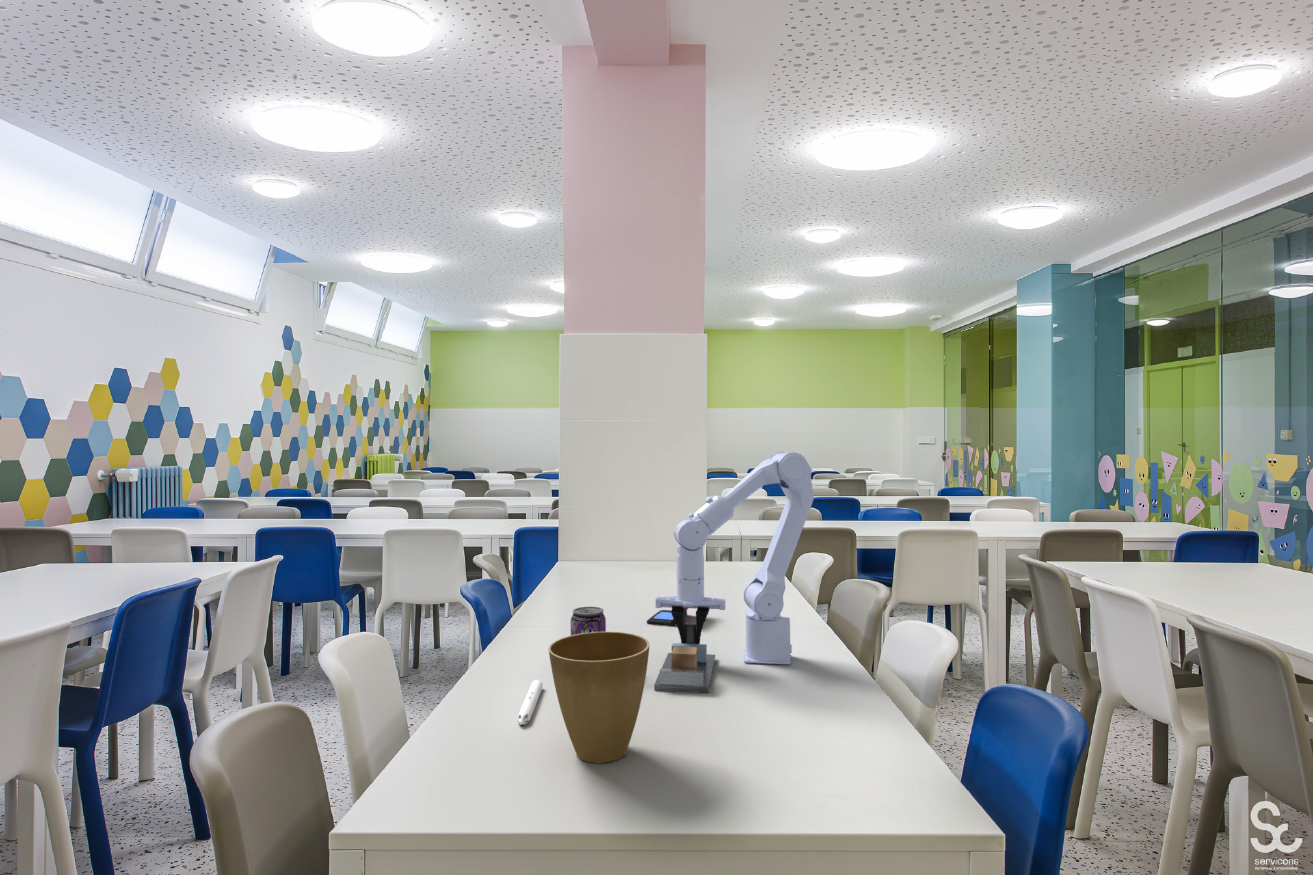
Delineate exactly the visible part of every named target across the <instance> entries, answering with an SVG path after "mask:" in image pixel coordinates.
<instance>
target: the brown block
mask: <svg viewBox="0 0 1313 875" xmlns="http://www.w3.org/2000/svg"><path fill="white" fill-rule="evenodd" d="M670 653H671V655H672V669H684V670H697V647H674V648H673V651H672V650H671V652H670Z"/></svg>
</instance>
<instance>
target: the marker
mask: <svg viewBox="0 0 1313 875" xmlns="http://www.w3.org/2000/svg"><path fill="white" fill-rule="evenodd" d="M543 687H544V685H543V681H542V680H541V679H535V680H533V681H532V683H531V685H530V687H529V689H528V691H527V694H526V696H525V698H524V701H523V703H522V705H521V708H520V710H519V712H518V715H517V722H518V724H519V725H520V726H522V725H527V724H528V723H529V722H530V720H531V718H532V715H533V712H534V711H535V707H536V704H537V702H538V700H539V697H540V694H541V692H542V690H543Z"/></svg>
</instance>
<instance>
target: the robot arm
mask: <svg viewBox="0 0 1313 875" xmlns="http://www.w3.org/2000/svg"><path fill="white" fill-rule="evenodd" d="M812 471H813V469H812V468H811V465H810V464H809V462H808V461H807V459H806V457H804V456H803V455H802V454H801V453H799V452H795V451H794V452H793V451H792V452H784V451H777V452H774V453H773V454H772V455H771V456H769V458H766V459H765V460H763V461H761V462H760V463H759V464H758V465H757V466H756V467H754V469H752V470H751V471H750V472H749V473H748V474H746V476H745V477H744V478H742V479H741V480H740V481H739V482H738V483H737V484H736V485H735V486H734V487H733V488H732V489H730V490H729V491H728V492H727V493H726V494H724V495H714V496H713V497H710V496H709V497H707V498H706V499H705V500H704V501H705V504H703V505H702V506H701V507H700V508H699V509H698V510H696V511H695V512H690V513H689V514H688V515H687V516H688V517H689V519H683V520H682V521H680V522H679V523H677V525H676V528H675V531H673V537H674V539H675V541H676V543H677V544H676V545H677V547H676V552H677V554H676V596H673V595H672V596H656V597H655V609H661V608H669V609H670V608H671V610H672V611H671V614H672V616H673V618H674V620H675V622H676V625H675V626H676V627H677V629H678V633H679V638H680V643H682V644H685V624H686V616H685V608H688V609H696V611H695V619H696V620H695V624H696V644H701V636H702V631H703V628H704V624H705V622H706V619H707V617H708V615H709V612H710V610H720V611H725V610H726V607H727V606H726V600H727V598H716V597H709V596H708V597H707V596H705V556H704V546H705V545H706V543H707V540H708V536H711V535H712V534H714V533H715V532H716V531H717V530H719V529H720V528H721V527H722V526H723V525H724V524H726V523H727V522H728V521H729V520H730V519H732V518H733V517H734V511H735V508H736V507H737V506H739V505H740V504H741V503H742V502H744V501H745V500H747V499H748V498H749V497H750V496H752V494H754V493H755V492H757V491H758V490H760V489H761V488H762V487H763V486H767V485H774V484H778V485H779V486H780V488H781V489H782V492H783V494H784V495H785V497H786V501H785V504H784V507H783V509H782V511H781V515H780V517H779V521H778V522H777V525H776V528H775V529H774V534H773V536H772V538H771V541H770V544H769V546H768V548H767V552H766V554H765V557H764V559H763V562H762V564H761V567H760V568H759V569H758V570H757V571H756V573H755V574H754V576H753V579H752V580H751V581H750V582H749V583H748V584H747V585H746V586H745V588H744V591H743V600H744V602H745V605H746V606H747V607H748V609H747V611H746V612H745V647H746V648H745V650H744V653H743V662H744V663H745V664H747V663H748V664H766V665H767V664H768V665H769V664H770V665H771V664H772V665H791V654H792V652H793V651H792V650H793V648H792V645H793V644H791V619H790V617H788V616H781V613H782V611H783V609H784V604H785V603H784V594H785V591H786V581H785V580H786V579H785V576H786V573H787V572H788V569H789V565H791V564H790V563H791V560H792V558H793V555H794V552H795V550H796V548H797V545H798V543H799V539H800V537H801V534H802V531H803V529H804V526H805V524H806V521H807V518H808V515H809V512H810V510H811V507H812V505H813V502H814V499H815V498H814V497H815V496H814V490H813V484H812V476H811V475H812Z"/></svg>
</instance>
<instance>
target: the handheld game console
mask: <svg viewBox="0 0 1313 875" xmlns="http://www.w3.org/2000/svg"><path fill="white" fill-rule="evenodd" d="M688 609H689V608H685V617H687V616H688ZM671 611H672V609H671V610H670V609H661V610H659V611H657V612H655V614H654V615H653V614H652V616H651V617H649V618H648V619H647V620H646V624H647V625H650V626H665V627H675V626H677V625H676V622H675V620H674V618H673V616H672V614H671Z"/></svg>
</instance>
